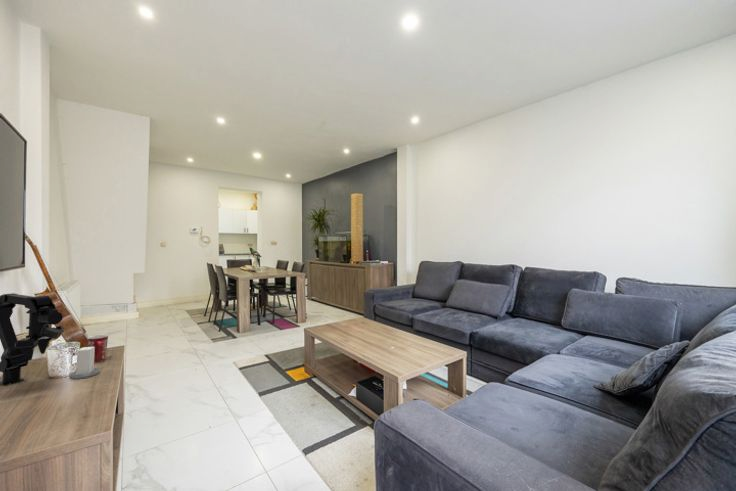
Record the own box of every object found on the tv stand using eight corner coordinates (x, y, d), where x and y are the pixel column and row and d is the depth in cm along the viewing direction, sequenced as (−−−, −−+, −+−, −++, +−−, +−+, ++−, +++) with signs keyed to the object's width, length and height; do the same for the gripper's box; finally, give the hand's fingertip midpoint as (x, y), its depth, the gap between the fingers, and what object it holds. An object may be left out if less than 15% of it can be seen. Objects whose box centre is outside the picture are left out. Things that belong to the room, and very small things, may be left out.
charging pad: (65, 376, 151) (65, 374, 151) (92, 369, 162) (92, 366, 162) (77, 380, 147) (77, 378, 147) (104, 372, 157) (104, 370, 157)
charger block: (76, 374, 151) (77, 350, 151) (81, 371, 156) (82, 347, 156) (88, 373, 153) (89, 349, 153) (93, 370, 158) (94, 346, 158)
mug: (86, 359, 175) (87, 336, 175) (106, 356, 181) (107, 333, 182) (87, 365, 166) (88, 341, 166) (109, 362, 172) (110, 337, 173)
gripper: (48, 326, 137) (46, 361, 136) (71, 318, 154) (69, 349, 154) (14, 328, 133) (13, 364, 132) (42, 319, 150) (40, 351, 150)
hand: (36, 356), depth 142 cm, fingers open, 9 cm apart
